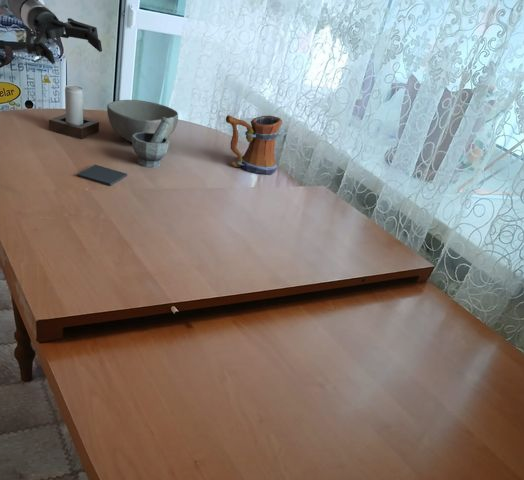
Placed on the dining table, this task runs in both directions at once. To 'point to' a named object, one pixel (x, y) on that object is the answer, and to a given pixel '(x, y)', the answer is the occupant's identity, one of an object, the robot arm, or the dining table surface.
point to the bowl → (139, 117)
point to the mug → (256, 144)
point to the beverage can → (74, 104)
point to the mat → (102, 175)
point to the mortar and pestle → (152, 145)
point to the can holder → (74, 127)
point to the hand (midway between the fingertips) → (76, 52)
